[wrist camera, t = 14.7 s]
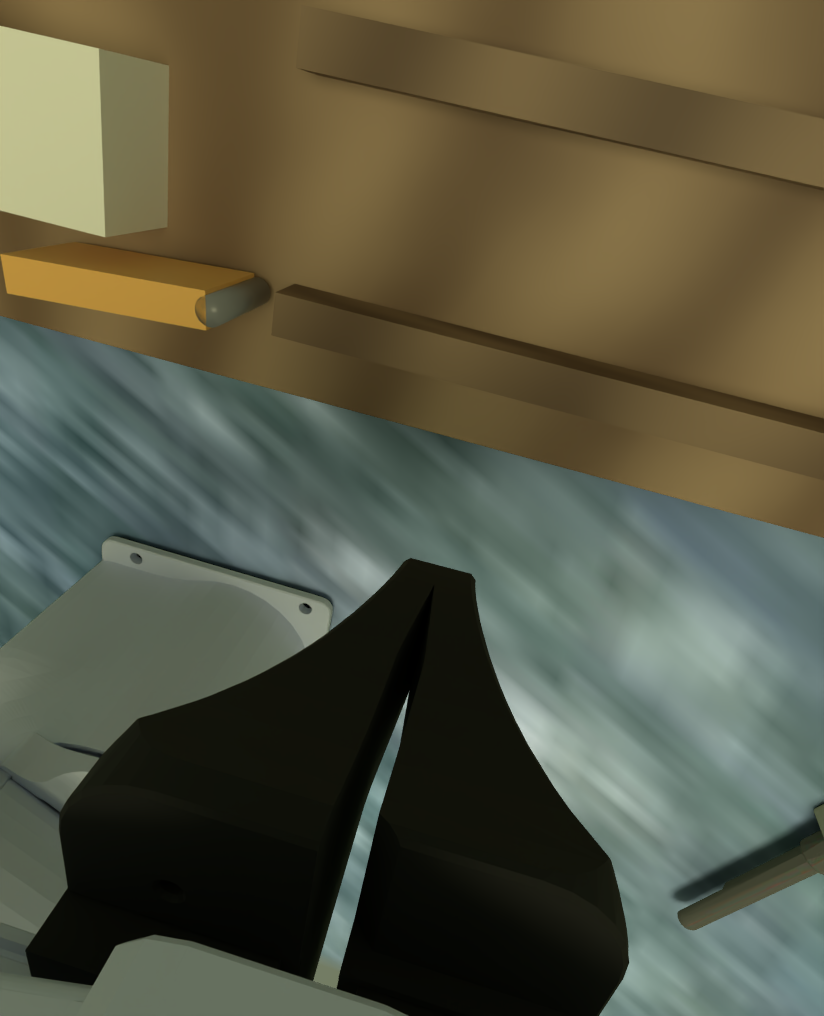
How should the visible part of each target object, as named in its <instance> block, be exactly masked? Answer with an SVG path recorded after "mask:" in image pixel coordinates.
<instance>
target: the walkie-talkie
mask: <svg viewBox="0 0 824 1016" xmlns="http://www.w3.org/2000/svg"><path fill="white" fill-rule="evenodd" d="M814 813H815V816H816V818H817V821H818V824H819V826H820V829H821V830H820V831H818V832H816V833H814V834H812V835H810V836H808V837H806V838H804V839H802V841H801V842H800V846H798V847H796V848H794V849H792V850H790V851H788V852H786V853H784V854H782V855H780V856H778V857H776V858H774V859H772V860H770V861H768V862H766V863H764V864H762V865H760V866H758V867H756V868H754V869H752V870H750V871H748V872H746V873H744V874H742V875H740V876H738V877H736V878H734V879H732V880H730V881H728V882H726V883H725V885H724V887H723V889H722V890H720V891H718V892H716V893H714V894H712V895H710V896H708V897H706V898H704V899H702V900H700V901H698V902H696V903H694V904H692V905H690V906H688V907H686V908H684V909H682V910H680V911H679V912H678V913H677V914H678V919H679V921H680V923H681V924H682V925H683V926H684V927H685V928H687V929H689V930H697V929H699V928H701V927H703V926H705V925H707V924H709V923H712V922H714V921H716V920H718V919H720V918H722V917H724V916H727V915H729V914H731V913H733V912H735V911H737V910H739V909H742V908H744V907H746V906H748V905H750V904H752V903H754V902H757V901H759V900H761V899H763V898H765V897H767V896H769V895H772V894H774V893H776V892H778V891H780V890H782V889H784V888H787V887H789V886H791V885H793V884H795V883H797V882H799V881H802V880H804V879H806V878H808V877H810V876H812V875H814V874H817V873H820V874H823V875H824V804H823V805H821V806H819V807H817V808H815V809H814Z"/></svg>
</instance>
